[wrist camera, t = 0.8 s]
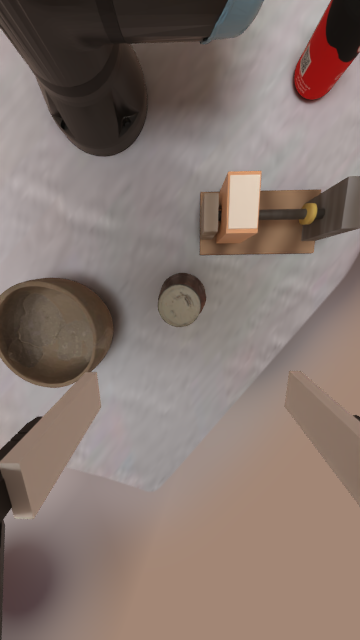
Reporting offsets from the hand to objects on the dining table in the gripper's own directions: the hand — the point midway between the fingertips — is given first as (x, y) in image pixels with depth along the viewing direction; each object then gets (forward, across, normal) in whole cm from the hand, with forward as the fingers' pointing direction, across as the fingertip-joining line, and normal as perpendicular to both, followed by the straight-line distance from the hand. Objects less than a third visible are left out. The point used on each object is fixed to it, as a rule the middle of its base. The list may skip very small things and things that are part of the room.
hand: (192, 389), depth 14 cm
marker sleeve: (+23, +7, +16) cm, 29 cm away
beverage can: (+27, +20, +36) cm, 49 cm away
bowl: (+26, -21, -2) cm, 34 cm away
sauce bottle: (+26, 0, +4) cm, 26 cm away
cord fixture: (+26, +13, +16) cm, 33 cm away
